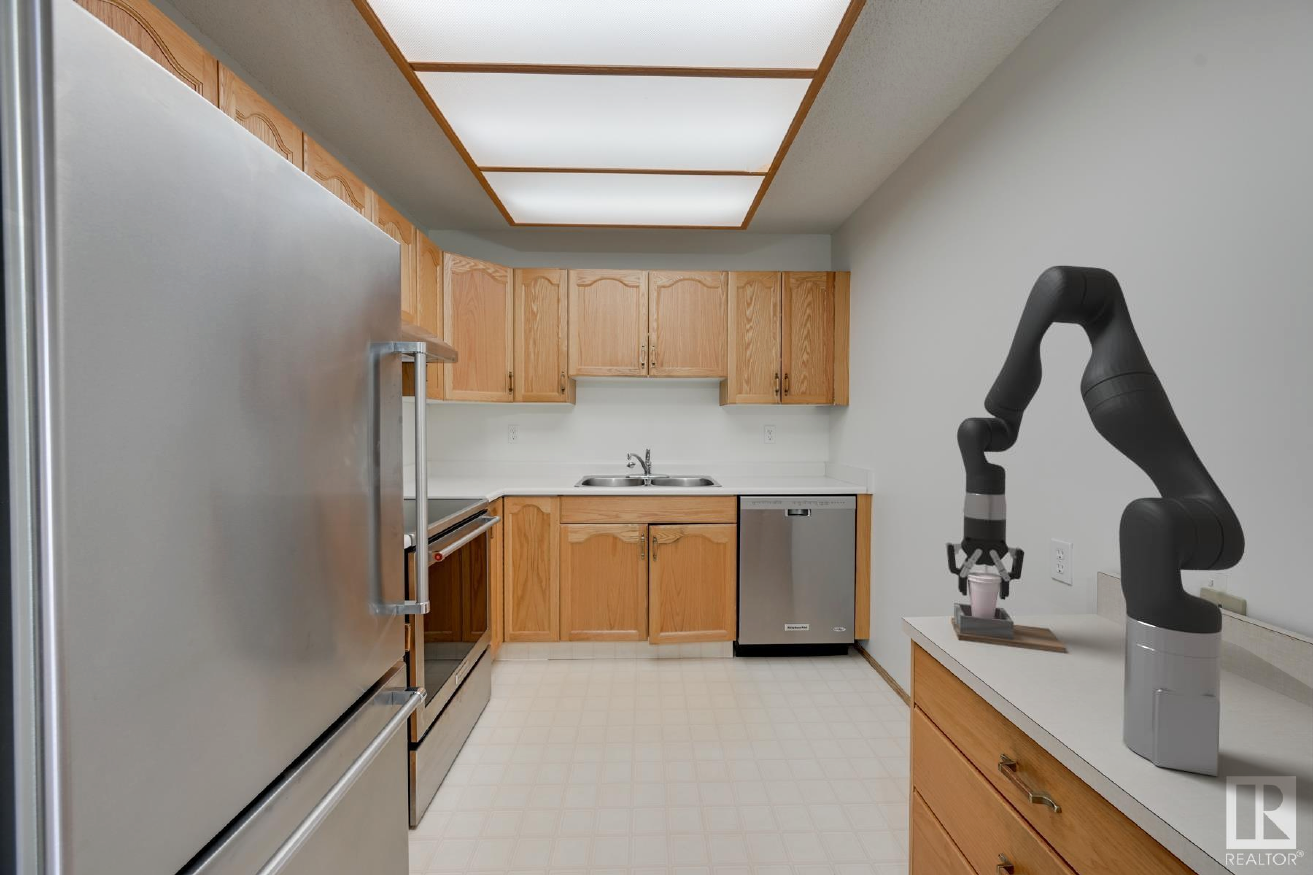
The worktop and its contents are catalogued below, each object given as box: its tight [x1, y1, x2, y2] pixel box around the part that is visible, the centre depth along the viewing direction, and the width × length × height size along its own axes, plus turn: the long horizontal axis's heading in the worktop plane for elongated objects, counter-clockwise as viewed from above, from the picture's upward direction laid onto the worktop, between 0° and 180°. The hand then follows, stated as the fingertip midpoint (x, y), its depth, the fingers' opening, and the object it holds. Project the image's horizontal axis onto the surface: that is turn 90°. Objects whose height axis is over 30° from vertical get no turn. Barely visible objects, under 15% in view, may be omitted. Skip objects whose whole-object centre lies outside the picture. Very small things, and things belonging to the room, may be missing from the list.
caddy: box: [950, 602, 1067, 654], centre depth 116 cm, size 11×18×4 cm, turn 69°
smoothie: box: [966, 564, 1002, 619], centre depth 117 cm, size 6×6×14 cm
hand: (983, 596), depth 117 cm, fingers closed on smoothie, 6 cm apart
